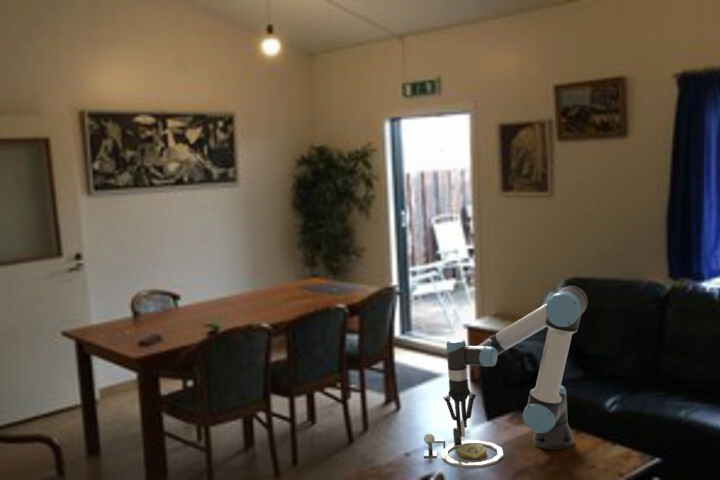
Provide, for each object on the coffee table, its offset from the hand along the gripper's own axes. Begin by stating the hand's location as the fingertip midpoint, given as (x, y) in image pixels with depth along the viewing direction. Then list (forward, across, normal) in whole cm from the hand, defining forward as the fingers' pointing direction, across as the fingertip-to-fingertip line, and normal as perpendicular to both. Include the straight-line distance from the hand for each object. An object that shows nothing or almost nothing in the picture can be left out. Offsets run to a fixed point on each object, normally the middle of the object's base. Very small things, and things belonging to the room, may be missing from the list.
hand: (462, 435), depth 292 cm
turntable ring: (+4, 0, +10) cm, 11 cm away
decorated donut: (+4, -1, +11) cm, 12 cm away
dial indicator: (+4, +13, +6) cm, 15 cm away
